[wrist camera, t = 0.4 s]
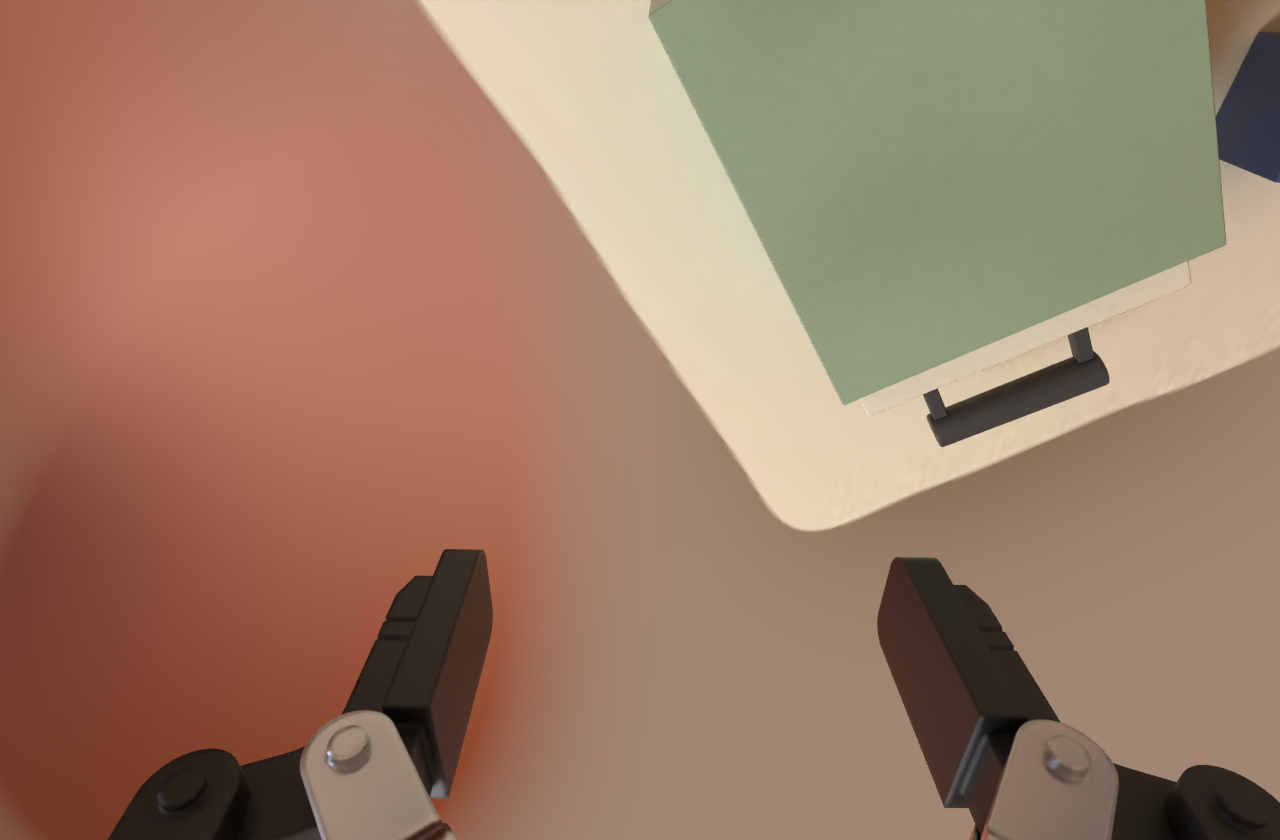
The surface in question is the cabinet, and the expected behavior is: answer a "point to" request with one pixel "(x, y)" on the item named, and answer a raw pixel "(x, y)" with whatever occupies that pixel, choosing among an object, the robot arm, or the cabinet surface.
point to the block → (1254, 112)
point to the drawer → (1036, 387)
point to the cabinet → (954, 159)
